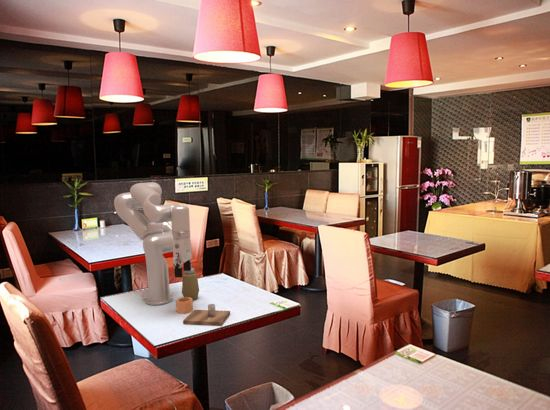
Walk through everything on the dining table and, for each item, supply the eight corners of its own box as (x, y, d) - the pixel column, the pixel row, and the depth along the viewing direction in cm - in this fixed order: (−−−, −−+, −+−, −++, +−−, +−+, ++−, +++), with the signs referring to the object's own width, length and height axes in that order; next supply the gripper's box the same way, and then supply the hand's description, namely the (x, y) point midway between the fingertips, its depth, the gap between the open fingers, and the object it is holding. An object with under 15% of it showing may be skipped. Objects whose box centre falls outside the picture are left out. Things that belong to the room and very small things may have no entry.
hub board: (183, 324, 166) (182, 309, 165) (194, 312, 178) (193, 299, 177) (221, 325, 163) (221, 311, 162) (230, 314, 175) (229, 300, 174)
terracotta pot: (174, 313, 178) (173, 300, 177) (180, 307, 184) (180, 295, 184) (189, 313, 177) (188, 301, 176) (194, 308, 183) (194, 296, 182)
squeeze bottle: (201, 296, 199) (199, 259, 197) (196, 301, 191) (195, 263, 189) (185, 295, 200) (183, 259, 198) (179, 301, 192) (177, 263, 190)
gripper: (181, 239, 167) (183, 280, 169) (196, 231, 184) (198, 268, 186) (164, 238, 168) (166, 279, 170) (180, 230, 185) (182, 268, 187)
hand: (183, 273), depth 178 cm, fingers open, 9 cm apart
